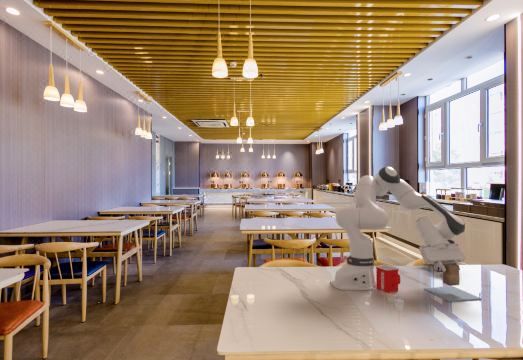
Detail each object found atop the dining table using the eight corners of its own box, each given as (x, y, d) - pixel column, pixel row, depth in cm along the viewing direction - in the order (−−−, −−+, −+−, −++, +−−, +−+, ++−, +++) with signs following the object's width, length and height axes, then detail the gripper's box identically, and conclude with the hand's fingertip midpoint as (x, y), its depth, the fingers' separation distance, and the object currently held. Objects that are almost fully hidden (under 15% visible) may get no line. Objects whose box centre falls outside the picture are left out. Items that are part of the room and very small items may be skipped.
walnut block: (443, 282, 145) (442, 263, 145) (452, 282, 145) (452, 263, 145) (450, 285, 140) (449, 266, 140) (459, 285, 141) (459, 265, 141)
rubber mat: (448, 301, 134) (448, 300, 134) (423, 289, 149) (423, 288, 149) (481, 299, 136) (481, 298, 136) (453, 287, 152) (453, 286, 152)
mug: (374, 287, 152) (374, 266, 152) (387, 285, 155) (387, 264, 155) (392, 296, 141) (392, 272, 141) (406, 293, 144) (406, 270, 144)
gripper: (420, 242, 148) (435, 268, 139) (458, 240, 152) (475, 266, 142) (414, 249, 153) (428, 275, 143) (451, 247, 156) (467, 273, 146)
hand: (451, 270), depth 142 cm, fingers closed on walnut block, 5 cm apart
